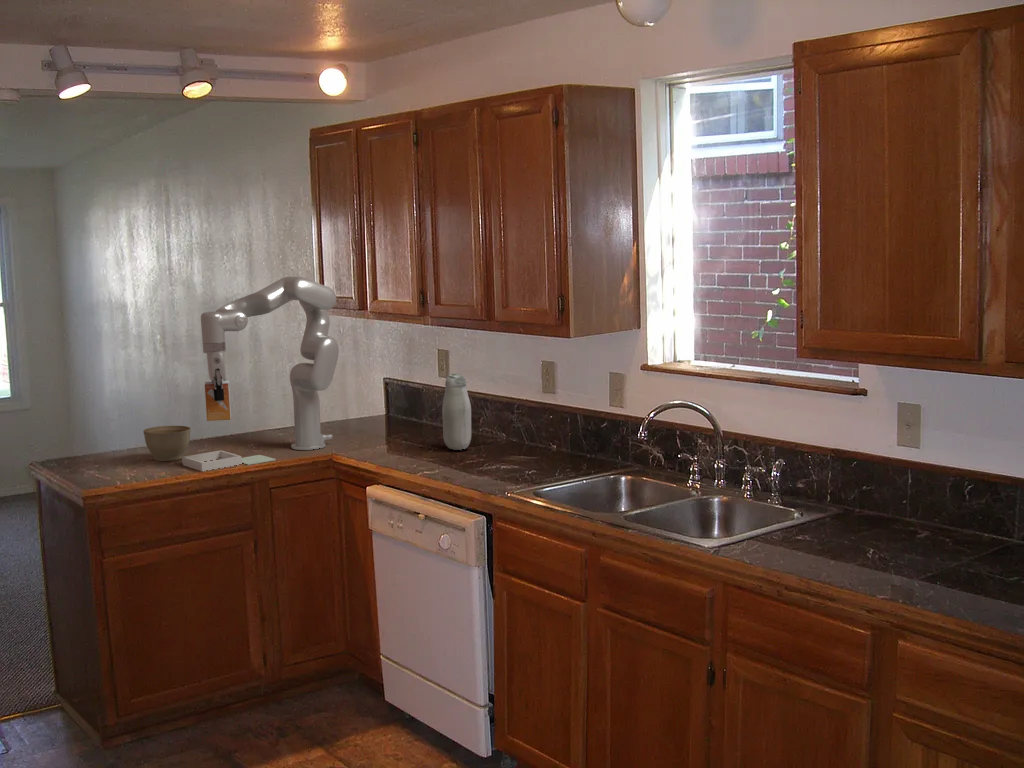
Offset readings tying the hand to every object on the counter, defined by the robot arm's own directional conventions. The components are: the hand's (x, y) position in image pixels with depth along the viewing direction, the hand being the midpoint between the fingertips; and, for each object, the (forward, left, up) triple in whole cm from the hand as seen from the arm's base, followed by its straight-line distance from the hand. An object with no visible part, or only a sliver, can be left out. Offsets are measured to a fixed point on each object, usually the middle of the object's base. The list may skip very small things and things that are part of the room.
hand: (218, 398), depth 373 cm
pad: (-11, +3, -23) cm, 26 cm away
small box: (0, 0, -8) cm, 8 cm away
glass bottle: (-72, +42, -23) cm, 86 cm away
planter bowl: (+9, -22, -23) cm, 33 cm away
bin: (+3, -1, -23) cm, 23 cm away
